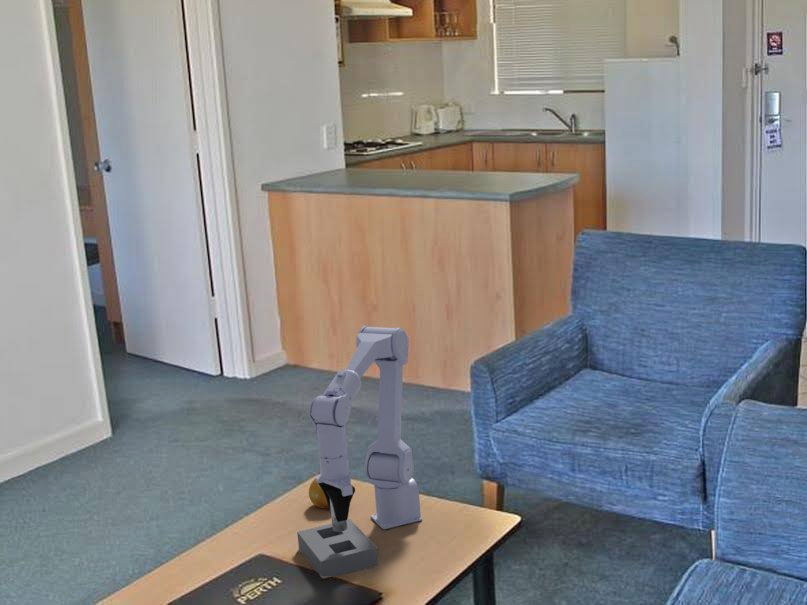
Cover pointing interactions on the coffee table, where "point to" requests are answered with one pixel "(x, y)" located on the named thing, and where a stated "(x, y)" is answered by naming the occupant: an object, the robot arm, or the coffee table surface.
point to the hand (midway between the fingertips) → (339, 517)
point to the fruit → (317, 495)
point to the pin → (335, 524)
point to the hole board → (337, 549)
